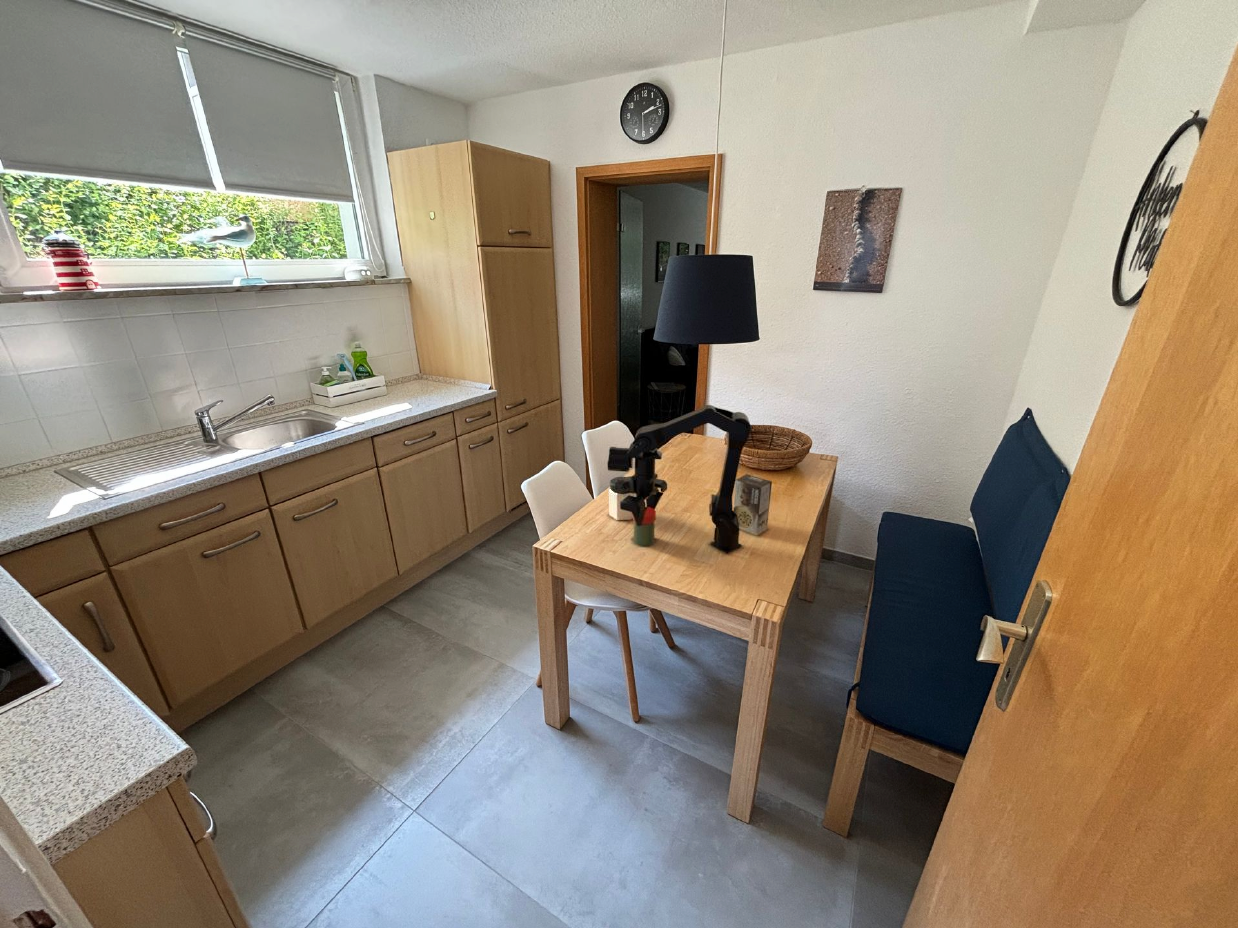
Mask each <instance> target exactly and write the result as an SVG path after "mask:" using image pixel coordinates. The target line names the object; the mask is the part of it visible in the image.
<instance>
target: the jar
mask: <svg viewBox="0 0 1238 928" xmlns="http://www.w3.org/2000/svg"><path fill="white" fill-rule="evenodd" d="M624 477H625V476H617V477H613V478H611V480H610V481H609V489H608V509H609V510H608V515H609V517H611V518H613V519H614V520H616V521H630V520H633V514H632V512H629V511H625V510H622V509H620V502H621V501H622V500H623V499H625V498H626V497H627V496H629V495H630V496H634V497H636V493H634V494H632V493H630V491H625V492H622V493H619V492H617V491H616V489H615V488H614V487H615V482H616V481H617V480H620V479H622V478H624Z"/></svg>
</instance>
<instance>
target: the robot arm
mask: <svg viewBox="0 0 1238 928" xmlns="http://www.w3.org/2000/svg"><path fill="white" fill-rule="evenodd" d="M708 424H709V425H712V426H714V427H715V428H718V429H719V430H721V431H723V432H726V438H727V439H726V443H727V446H726V452H725V456H724V460H723V465H722V471H721V475H720V481H719V488H718V491H717V492H716V494H713V493H711V494H710V497H711V500H710V503H709V504H708V510H709V511H708V513H709V514H708V515H709V517H711V522H712V523H713V524H714V526H715V528H714V531H713V532H714V533H713V541H712V542H710V545H711V546H712V547H714V548H716V549H718V550H719V551H721V552H723V553H725V554H729V553H732V552H734V551H736V550H739V549H740V548H742V544H741V543H740V542H739V540H740V530H741V529H739V523H738V517H737V514H736V513H735V512H734V511H733V510H734V506H733V495H734V491H735V481H736V479H737V475H738V470H739V465H740V460H741V456H742V451H743V449H744V447H746V446H745V445H746V444H747V442H748V440H749V437H750V434H751V432H752V425H751V423H750V419H749V417H748V415H747V414H746V413H744V412H741V411H736V412H734V411H731V410H728V409H725V408H720V407H717V406H714V405H712V404H707V405H704V406H702V407H701V408H698V409H695V410H694V411H691V412H688V413H686V414H683V415H682V416H679V417H676V418H674V419H672V420H670V421H667V422H664V423H654V424H649V425H645V426H641V427H639V428H638V430H637V431H636V434H635V436H634V438H633V439H634V440H633V441H632V442H631V443H630V445H629V448H628V447H618V446H610V447H609V450H608V460H607V463H606V464H607V471H608V472H624V473H625V472H627V473H628V472H629V471H630V469H633V468H634V474H633V475H630V476H623V477H624V478H622V479H620V480H617V481H616V482H615V487H614V488H615V489H616V491H617V492H619V493H622V492H625V491H630V493H632V494H634V493H636V497H634V496H630V495H629V496H627V497H626V498H625V499H623V500H622V501H621V502H620V509H622V510H625V511H629V512H632V514H633V517H634V519H635V522H636V525H637V526H641V524H642V521H643V519H644V516H645V513H646V510H647V507H651V508H653V509H654V510H655V511H656V509H657V506H658V504H659V502H660V500H661V499H662V497H663V495H664V493H665V492H666V491H667V490H668V482H667V481H666V480H664V479H660V478H659V477H658V473H656V460H661V459H662V457H663V453H662V452H661V450H659V448H658V447H660V446H661V445H662V444H663V443H665V442H666V441H667V440H669V439H671V438H675V437H676V436H679V435H681V434H684V433H686V432H689V431H691V430H695V429H697V428H700V427H702V426H704V425H708ZM633 466H634V467H633Z"/></svg>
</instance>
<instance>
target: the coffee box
mask: <svg viewBox="0 0 1238 928" xmlns="http://www.w3.org/2000/svg"><path fill="white" fill-rule="evenodd" d="M772 485H773V481H772V480H769V479H766V478H762V477H759V476H755V475H753V474H752V475H751V474H748V473H746V474H744V475H741V476H740V477H738V478H736V481H735V485H734V496H733V511H734V512H735V513H736V514H737V517H738V523H739V529H740V530H741V531H744V532H747V533H749V534H751V535H753V536H759V535H760V534H762V533H763V532H765V531H766V530H768V521H769V514H770V505H771V503H770V502H771V496H772V495H771V494H772Z"/></svg>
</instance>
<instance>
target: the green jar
mask: <svg viewBox="0 0 1238 928" xmlns="http://www.w3.org/2000/svg"><path fill="white" fill-rule="evenodd" d="M655 522H656V520H655V521H654V522H653V523H651V524H641V526H637V525H636V522H634V521H633V542H634V544H636V545H637V546H640V547H648V546H652V545H653V544H654V543H655V528H656V526H655V525H656V523H655Z"/></svg>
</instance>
